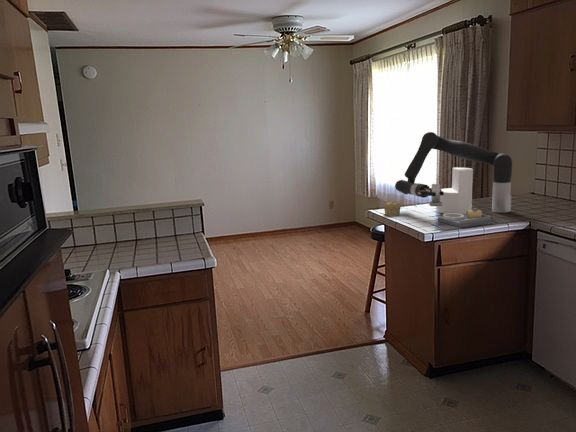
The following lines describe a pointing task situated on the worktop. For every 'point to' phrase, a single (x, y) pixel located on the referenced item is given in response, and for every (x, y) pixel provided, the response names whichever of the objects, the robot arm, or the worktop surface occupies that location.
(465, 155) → the robot arm
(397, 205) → the decorative item
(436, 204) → the grey block on base
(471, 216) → the carrier
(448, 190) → the white stepped tower
